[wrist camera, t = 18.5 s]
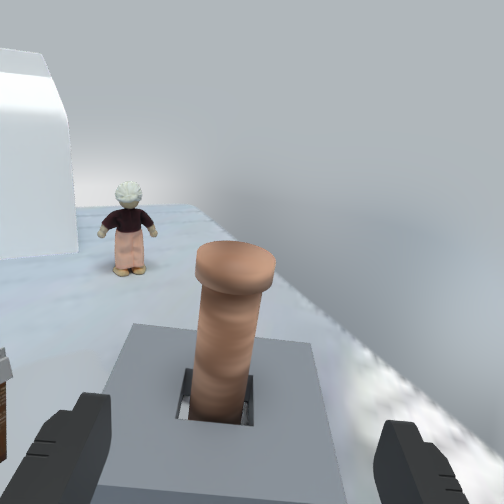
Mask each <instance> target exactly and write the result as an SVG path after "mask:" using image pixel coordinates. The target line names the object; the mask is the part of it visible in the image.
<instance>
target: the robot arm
mask: <svg viewBox="0 0 504 504" xmlns="http://www.w3.org/2000/svg"><path fill="white" fill-rule="evenodd" d="M111 438H112V421H111V397H110V395H109V394H96V393H86V392H84V393H82V394H81V395H80V397H79V399H78V401H77V403H76V405H75V406H74V408H73V410H72V411H67V410H59V411H58V412H57V413H56V414H54V415H53V416H52V417H51V418H50V419H49V420H47V421H46V422H45V423H44V424H43V426H42V428H41V429H40V431H39V433H38V435H37V436H36V438H35V440H34V443H32V445H31V446H30V448H29V450H28V451H27V453H26V457H24V458H23V460H22V462H21V463H20V465H19V467H18V468H17V470H16V472H15V474H14V475H13V477H12V479H11V481H10V482H9V484H8V485H7V487H6V489H5V491H4V492H3V494H2V496H1V498H0V504H90V503H91V500H92V497H93V495H94V492H95V489H96V487H97V484H98V481H99V479H100V476H101V473H102V471H103V468H104V465H105V463H106V460H107V457H108V454H109V450H110V445H111ZM373 472H374V479H375V483H376V486H377V490H378V493H379V497H380V500H381V503H382V504H469V502H468V500H467V498H466V496H465V494H463V492H462V488H461V486H460V484H459V482H458V480H457V479H456V478H455V474H454V472H453V470H452V468H451V466H450V464H449V462H448V460H447V458H446V457H445V456H444V455H443V454H442V453H441V452H440V450H439V449H438V448H437V447H436V446H435V445H434V444H433V443H428V442H424V441H423V439H422V437H421V435H420V433H419V430H418V428H417V426H416V425H415V423H413V422H406V421H394V420H387V421H386V422H385V423H384V426H383V430H382V433H381V436H380V440H379V443H378V446H377V450H376V453H375V456H374V462H373Z"/></svg>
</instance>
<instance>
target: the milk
mask: <svg viewBox="0 0 504 504" xmlns="http://www.w3.org/2000/svg"><path fill="white" fill-rule="evenodd" d="M72 171H73V170H72V158H71V145H70V133H69V123H68V119H67V115H66V112H65V109H64V106H63V104H62V101H61V99H60V96H59V94H58V91H57V89H56V86H55V84H54V81H53V79H52V78H51V74H50V72H49V70H48V67H47V65H46V63H45V60H44V58H43V56H42V54H41V53H34V52H27V51H19V50H12V49H4V48H0V260H4V259H15V258H27V257H38V256H49V255H60V254H72V253H79V247H78V234H77V221H76V208H75V196H74V183H73V172H72Z"/></svg>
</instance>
